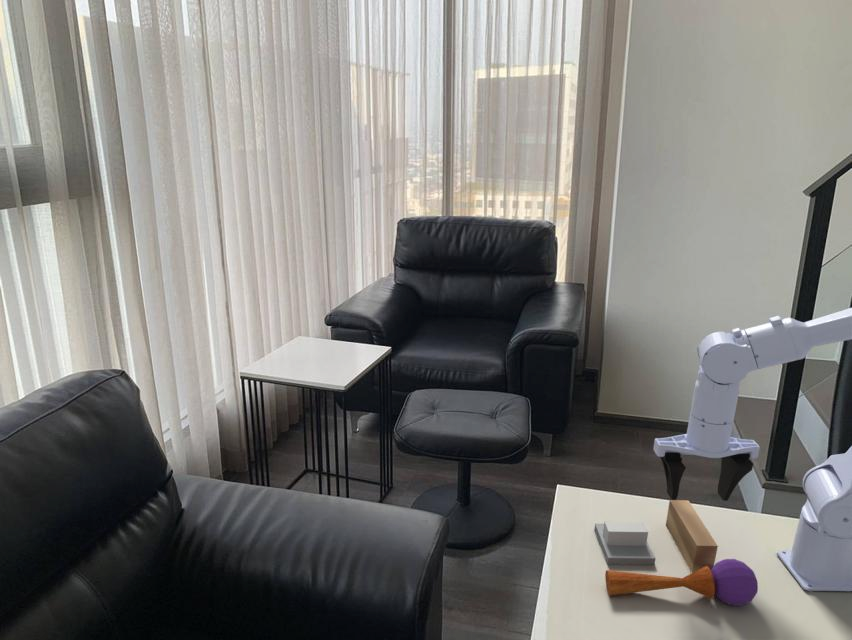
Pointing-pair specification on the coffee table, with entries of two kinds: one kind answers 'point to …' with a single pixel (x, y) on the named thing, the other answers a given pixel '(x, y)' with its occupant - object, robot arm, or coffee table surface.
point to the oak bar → (690, 535)
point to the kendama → (693, 582)
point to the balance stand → (625, 543)
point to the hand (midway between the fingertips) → (697, 496)
